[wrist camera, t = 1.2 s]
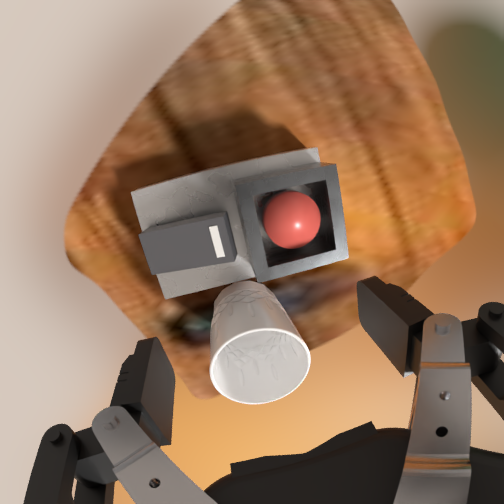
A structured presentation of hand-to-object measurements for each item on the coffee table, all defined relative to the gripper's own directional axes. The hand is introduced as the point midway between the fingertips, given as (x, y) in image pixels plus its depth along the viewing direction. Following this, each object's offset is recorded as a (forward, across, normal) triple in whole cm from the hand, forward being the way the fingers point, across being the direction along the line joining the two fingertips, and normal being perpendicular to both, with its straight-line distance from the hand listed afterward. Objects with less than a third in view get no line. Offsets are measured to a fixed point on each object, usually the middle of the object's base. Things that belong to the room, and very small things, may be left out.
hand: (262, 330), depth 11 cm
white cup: (+18, +1, +9) cm, 21 cm away
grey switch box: (+18, -1, 0) cm, 18 cm away
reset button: (+14, -5, 0) cm, 14 cm away
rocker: (+13, +4, 0) cm, 14 cm away
